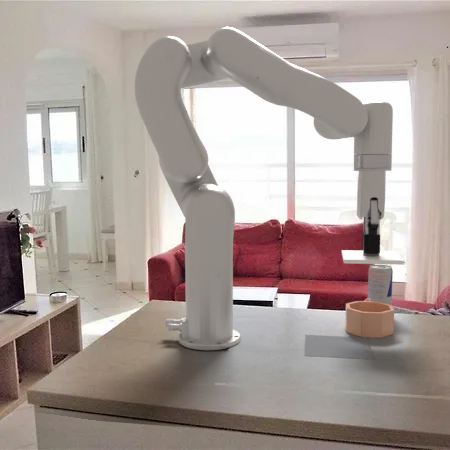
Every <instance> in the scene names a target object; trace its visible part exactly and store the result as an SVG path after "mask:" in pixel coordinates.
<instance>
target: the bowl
mask: <svg viewBox="0 0 450 450" xmlns="http://www.w3.org/2000/svg"><path fill="white" fill-rule="evenodd" d="M344 322H345V323H344V324H345V332H346V333H349V334H351V335H354V336H356V337H357V336H358V337H364V338H373V339H374V338H377V339H378V338H380V339H381V338H384V337H389V336H391V335H394V331H395V328H394V327H395V309H394V306H393V305H388V304H384V303H380V302H374V301H368V300H367V301H366V300H356V301H351V302H347V303H345V321H344Z"/></svg>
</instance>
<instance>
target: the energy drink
mask: <svg viewBox="0 0 450 450" xmlns="http://www.w3.org/2000/svg"><path fill="white" fill-rule="evenodd" d="M393 273H394V272H393V267H392V266H391V265H388V264H370V265H369V268H368V276H367V277H368V281H367V283H368V285H367V301H374V302H380V303H384V304H388V305H392V304H393V302H392V300H393V275H394V274H393ZM392 306H393V305H392Z"/></svg>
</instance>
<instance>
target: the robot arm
mask: <svg viewBox="0 0 450 450" xmlns="http://www.w3.org/2000/svg"><path fill="white" fill-rule="evenodd" d="M228 78H229V79H230V80H232V81H233V82H235V83H237V84H238V85H240V86H242V87H243V88H245V89H247V90H248V91H250V92H252V93H253V94H255V95H256V96H258V97H259V98H261V99H262V100H264V101H265V102H268V103H271V104H273V105H276V106H280V107H287V108H289V109H290V108H291V109H294V110H297V111H299V112H302V113H304V114H306V115H308V116H310V117H312V118H313V127H314V130H315V131H316V132H317V134H318V135H319V136H321V137H322V138H324V139H327V140H341V139H349V138H353V171H354V172H358V177H357V199H356V216H357V217H358V219H359V220H360V221H362V220H363V228H362V229H363V231H362V236H361V237H362V240H361V241H362V242H361V243H362V244H361V248H362V249H361V250H363V240H364V253H365V254H379V253H380V251H381V234H380V229H381V228H380V226H381V225H380V223H381V222H380V221H381V220H383V219H384V218H385V208H386V180H387V179H386V173H387V172H388V171H392V165H393V164H392V162H393V161H392V160H393V152H392V151H393V124H394V123H393V122H394V121H393V119H394V112H393V110H394V109H393V106H392V105H391V103H389V102H388V101H387V102H386V101H366V102H362V101H361V100H360V99H359V98H358V97H356V96H355V95H353V94H352V93H350V92H349V91H347V90H346V89H344V88H343V87H341V86H340V85H338V84H336V83H335V82H333V81H332V80H329V79H327V78H325V77H323V76H322V75H319V74H316V73H314V72H312V71H309V70H307V69H306V68H303V67H300V66H297V65H296V64H293V63H290V62H289V61H288V60H286V59H285V58H283V57H281V56H280V55H278V54H276V53H274V51H272V50H270V49H269V48H267V47H266V46H265V45H262V44H261V43H259V42H258V41H257V40H255V39H253V38H252V37H250V36H249V35H247V34H245V33H244V32H242V31H241V30H239V29H236V28H234V27H231V26H230V27H229V26H225V27H220V28H218V29H216V30H215V31H214V32H213V33H212V34H211V35H210V36H209V37H208V38H207V39H206V40H201V41H198V42H193V43H189V44H186V43H185V42H184V41H183V40H182V39H180V38H179V37H176V36H171V35H165V36H161V37H159V38H157V39H156V40H154V41H153V42H152V43H151V44H150V45H149V46H148V47H147V49H146V50H145V52H144V54H143V55H142V57H141V59H140V61H139V63H138V66H137V69H136V72H135V77H134V96H135V102H136V106H137V109H138V112H139V114H140V118H141V120H142V121H143V124H144V126H145V128H146V131H147V133H148V136H149V137H150V140H151V142H152V144H153V147H154V148H155V150H156V153H157V155H158V164H159V167H160V170H161V172H162V174H163V176H164V178H165V180H166V182H167V184H168V187H169V189H170V191H171V192H172V195H173V197H174V199H175V201H176V203H177V205H178V207H179V210H180V211H181V213H182V215H183V217H184V220H185V226H184V227H185V232H184V233H185V234H184V235H185V236H184V240H185V241H184V242H185V243H184V268H185V270H184V271H185V272H184V273H185V278H184V279H185V283H184V284H185V317H181V319H176V318H166V319H165V328H166V329H168V331H174V332H175V331H178V332H179V334H178V338H177V339H178V340H177V341H178V343H179V344H180V345H182V346H183V347H185V348H188V349H191V350H197V351H218V350H219V351H220V350H226V349H230V348H231V347H234V346H236V345H238V344H239V343H240V342H241V333H239V331H237V330H235V329H234V312H233V311H234V293H233V292H234V264H233V263H234V260H233V259H234V257H233V256H234V253H233V252H234V235H235V234H234V233H235V221H236V212H235V211H236V210H235V204H234V202H233V200H232V197H231V196H230V194H229V193H228V192H227V191H226V190H225V189H224V188H222V187H221V186H219V185H218V183H217V181H216V178H215V176H214V174H213V172H212V170H211V168H210V167H211V166H209V155H208V154H209V153H208V150H207V149H206V147H205V145H204V143H203V142H202V140H201V138H200V137H199V134H198V132H197V130H196V128H195V126H194V124H193V122H192V120H191V117H190V115H189V113H188V111H187V108H186V106H185V103H184V101H183V98H182V90H181V89H185V88H190V87H193V86H201V85H205V84H208V83H213V82H217V81H221V80H226V79H228ZM364 231H365V234H364Z"/></svg>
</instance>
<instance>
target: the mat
mask: <svg viewBox="0 0 450 450" xmlns="http://www.w3.org/2000/svg"><path fill="white" fill-rule="evenodd" d="M304 338H305V340H304V357H320V358H321V357H322V358H338V359H339V358H341V359H359V360H373V361H374V360H375V357H374V354H373V351H372V347H371V344H370V340H369V337H360V336H358V337H357V336H343V335H342V336H339V335H338V336H337V335H320V334H319V335H317V334H316V335H315V334H305V337H304Z"/></svg>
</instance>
